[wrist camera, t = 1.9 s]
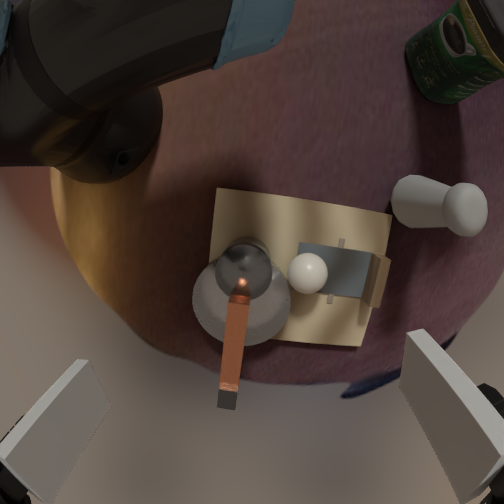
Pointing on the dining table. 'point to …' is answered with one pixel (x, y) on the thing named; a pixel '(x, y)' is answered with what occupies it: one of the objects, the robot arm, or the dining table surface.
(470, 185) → the salt shaker
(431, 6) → the dining table surface
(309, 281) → the ball
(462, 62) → the coffee jar
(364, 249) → the stand
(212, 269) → the grey round-based piece
